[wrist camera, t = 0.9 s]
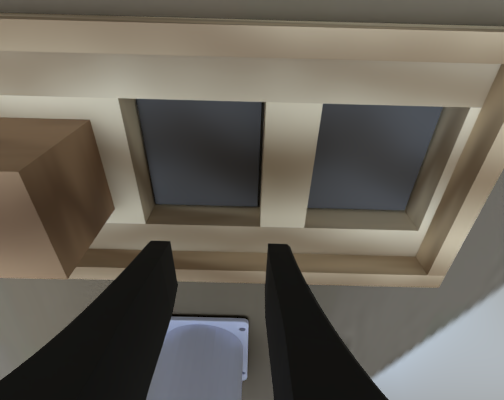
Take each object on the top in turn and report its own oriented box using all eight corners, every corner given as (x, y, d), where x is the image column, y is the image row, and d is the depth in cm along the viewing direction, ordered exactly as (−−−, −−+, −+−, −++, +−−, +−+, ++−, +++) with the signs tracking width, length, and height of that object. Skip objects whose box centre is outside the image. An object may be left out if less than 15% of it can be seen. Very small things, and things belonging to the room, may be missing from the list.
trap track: (412, 246, 21) (438, 287, 18) (-60, 235, 20) (-113, 274, 18) (506, 26, 13) (576, 34, 10) (-224, 6, 13) (-360, 8, 10)
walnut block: (115, 208, 17) (67, 279, 12) (23, 206, 17) (-55, 276, 12) (89, 119, 14) (18, 172, 10) (-20, 116, 14) (-139, 167, 10)
